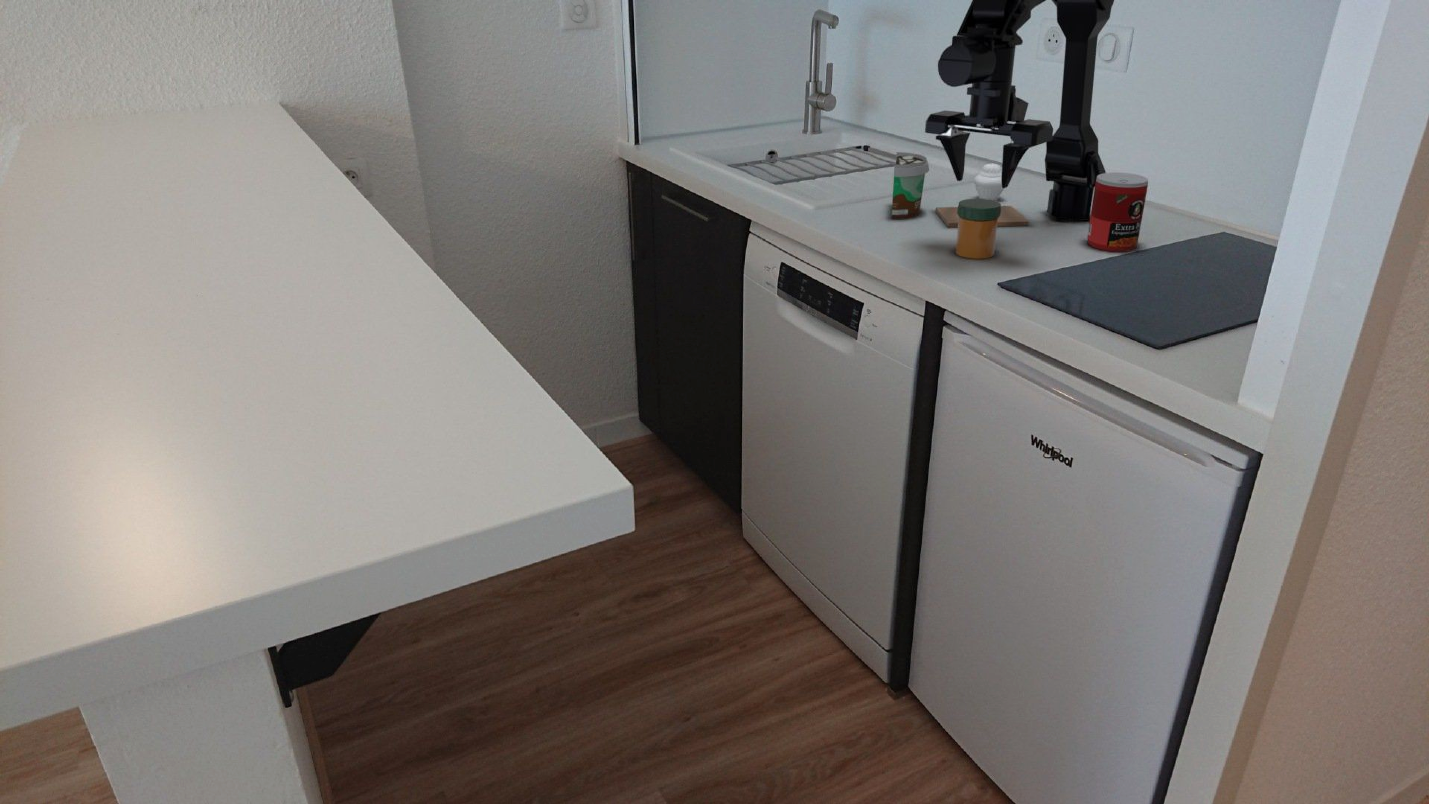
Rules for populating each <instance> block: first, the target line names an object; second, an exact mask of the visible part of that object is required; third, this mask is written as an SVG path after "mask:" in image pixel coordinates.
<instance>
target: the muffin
mask: <svg viewBox="0 0 1429 804" xmlns="http://www.w3.org/2000/svg"><path fill="white" fill-rule="evenodd" d="M1001 177H1002V166H1000V164H997V163H993V162H992V163H987V164H984V165H983V166H982V168H981V171H980V172H979V174H977V175H975V177H974V179H973V183H974V187H975V190H976V192H977V195H978V197H979V199H989V200H994V201H997V200H998V199H999V198H1000V196H1001V195H1002V193H1003V191H1004V190H1005V188H1002V181H1001Z"/></svg>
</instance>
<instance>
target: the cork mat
mask: <svg viewBox="0 0 1429 804" xmlns="http://www.w3.org/2000/svg"><path fill="white" fill-rule="evenodd" d="M957 211H958V206H945V207H944V206H942V207H940V206H939V207H935V213H936V215H938V216H939V219H941V221H943V223H944V224H945V226H946V227H947V228H958V221H959V216H958V214H957ZM1028 226H1029V221H1028V220H1027V219H1026V218H1025V217H1024V216H1023V215H1022V214H1021V213H1020V212H1019V211H1018V210H1016V209H1015V208H1014V207H1013V206H1012V205H1001V213H1000V217H999V218H998V223H997V227H1028Z"/></svg>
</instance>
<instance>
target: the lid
mask: <svg viewBox="0 0 1429 804" xmlns="http://www.w3.org/2000/svg"><path fill="white" fill-rule="evenodd" d="M1001 206H1002V204H1001V203H1000V202H999V201H997V200H995V201H994V200H989V199H980V198H966V199H965V198H964V199H962V200H960V201H958V206H957V207H958V211H957V214H958V216H959V217H961V218H964V219H969V220H978V221H985V220H994V219H997V218H999V217H1000V213H1001Z"/></svg>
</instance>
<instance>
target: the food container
mask: <svg viewBox="0 0 1429 804" xmlns="http://www.w3.org/2000/svg"><path fill="white" fill-rule="evenodd" d="M895 155H896V156H895V164H894V166H893V167H894V169H893V186H892V199H891V200H892V201H891V216H890V217H891V219H892V220H903V219H909V218H914V217H917V216H919V215H920V211H921V206H922V205H921V204H922V197H923V191H924V185H925V177H926V174H927V173H928V172H929V171H930V165H929V161H928V158H927V157H926V156H925V155H922V154H919V153H915V152H904V151H896V154H895Z"/></svg>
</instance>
